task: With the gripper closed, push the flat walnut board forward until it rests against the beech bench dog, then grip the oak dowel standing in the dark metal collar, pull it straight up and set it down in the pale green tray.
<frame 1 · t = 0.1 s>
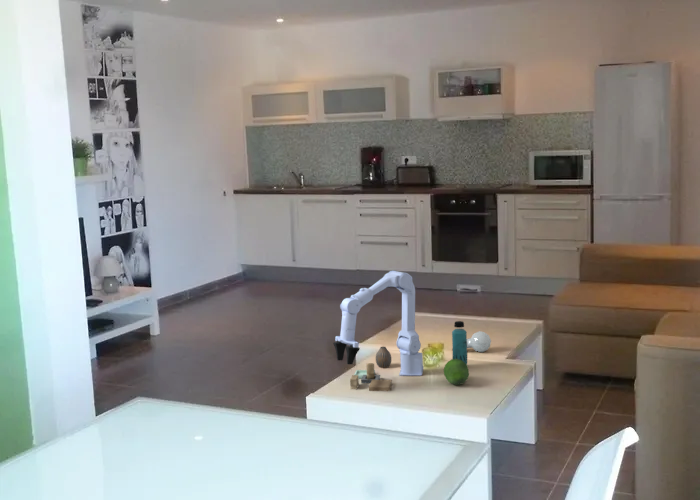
hand: (344, 362, 324), 11 cm above the table, tool pointing down, fingers open, 7 cm apart
collar: (370, 380, 333), on the table
tray: (364, 376, 340), on the table
vase: (383, 367, 353), on the table
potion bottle: (474, 352, 371), on the table
board: (380, 388, 324), on the table
beverage bottle: (460, 367, 347), on the table
fruit: (456, 383, 326), on the table
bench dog: (354, 386, 326), on the table
dowel: (370, 372, 333), in the collar
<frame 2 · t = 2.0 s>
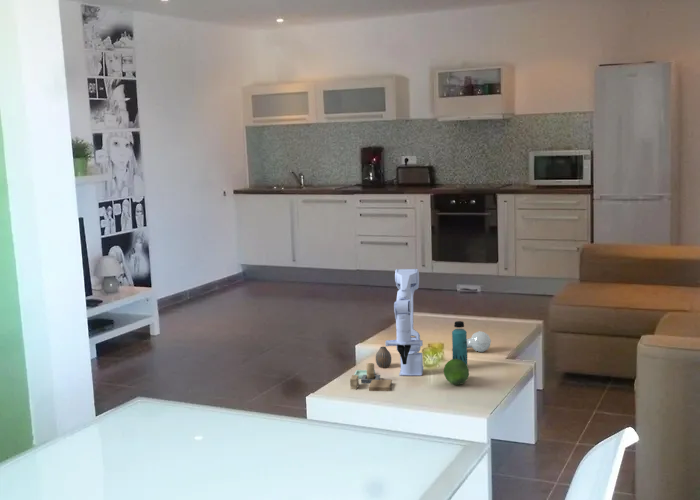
hand: (404, 363, 321), 10 cm above the table, tool pointing down, fingers closed
nothing on the table moved.
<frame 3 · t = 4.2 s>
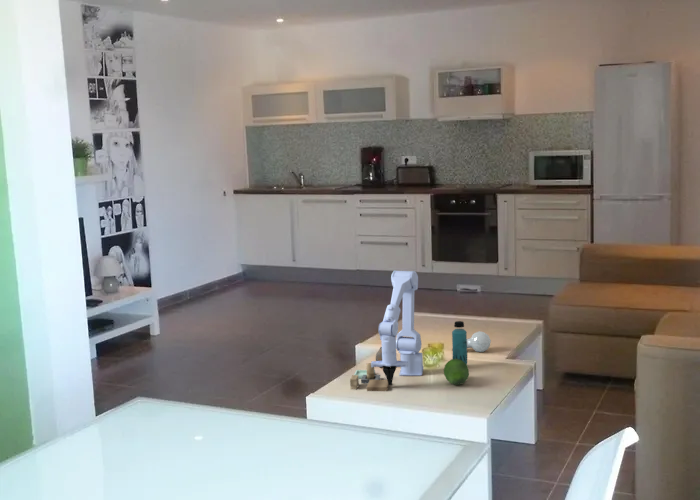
hand: (390, 384, 323), 1 cm above the table, tool pointing down, fingers closed
board: (378, 388, 324), on the table, touching gripper
everything else where it was.
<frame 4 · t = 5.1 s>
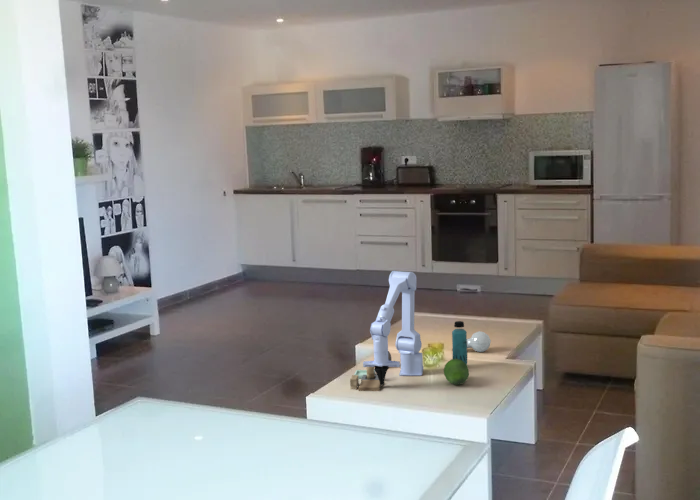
hand: (382, 384, 324), 1 cm above the table, tool pointing down, fingers closed
board: (370, 388, 325), on the table
everything else where it was.
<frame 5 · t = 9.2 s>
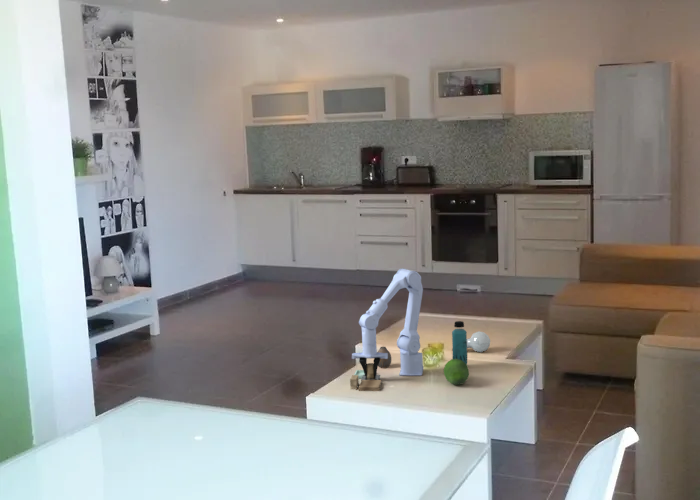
hand: (370, 375, 333), 2 cm above the table, tool pointing down, fingers closed on dowel, 3 cm apart
dowel: (370, 372, 333), in the collar, touching gripper
everything else where it was.
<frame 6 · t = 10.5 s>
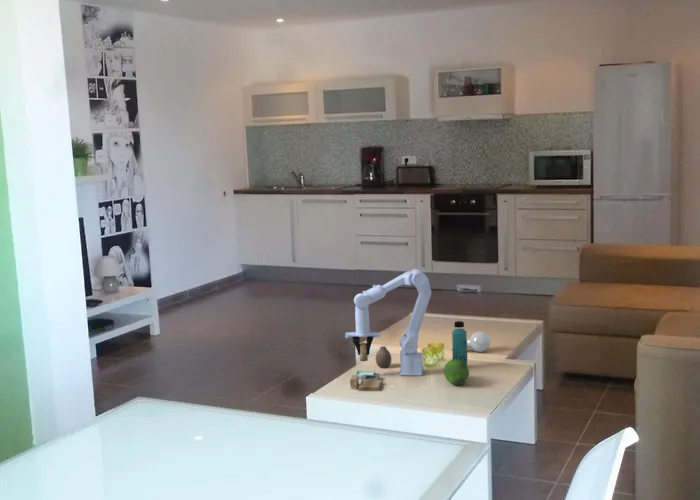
hand: (363, 354, 339), 9 cm above the table, tool pointing down, fingers closed on dowel, 3 cm apart
dowel: (363, 352, 338), point 10 cm above the table, touching gripper
everything else where it was.
when the fingers open (4 cm above the table, at t = 11.9 s): dowel stays where it is, resting on tray.
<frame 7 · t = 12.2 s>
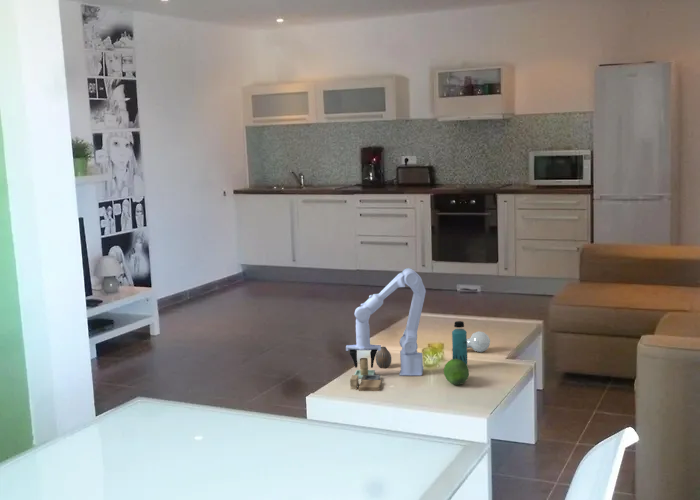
hand: (364, 367, 339), 4 cm above the table, tool pointing down, fingers open, 6 cm apart
dowel: (364, 367, 339), in the tray
everything else where it was.
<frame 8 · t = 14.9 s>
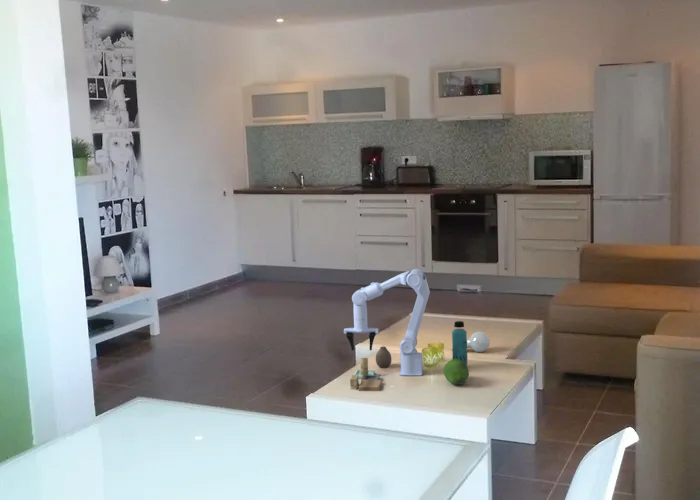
hand: (361, 349, 344), 10 cm above the table, tool pointing down, fingers open, 7 cm apart
nothing on the table moved.
at the end: board 1.1 cm from the target spot, on the table; dowel 0.2 cm off-centre on the tray, point 4.0 cm above the tray's base; the gripper is holding nothing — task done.
